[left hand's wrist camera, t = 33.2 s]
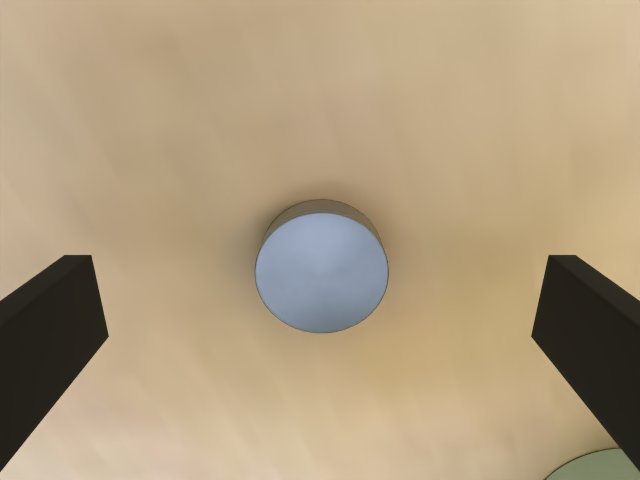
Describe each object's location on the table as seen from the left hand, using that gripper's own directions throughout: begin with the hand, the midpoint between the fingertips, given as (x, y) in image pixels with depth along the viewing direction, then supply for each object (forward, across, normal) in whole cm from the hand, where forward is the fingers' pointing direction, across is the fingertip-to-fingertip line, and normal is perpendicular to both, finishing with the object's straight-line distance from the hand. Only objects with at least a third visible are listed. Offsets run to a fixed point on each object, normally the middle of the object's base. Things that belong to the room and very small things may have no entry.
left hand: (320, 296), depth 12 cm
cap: (+2, 0, 0) cm, 2 cm away
